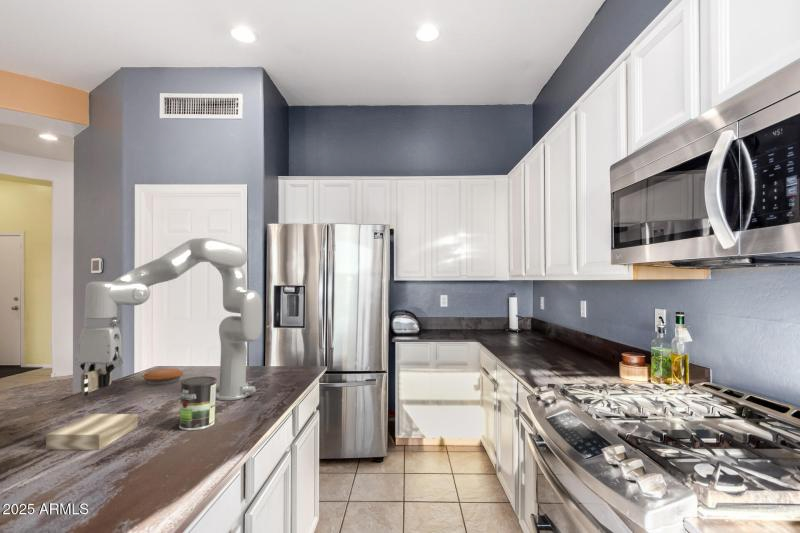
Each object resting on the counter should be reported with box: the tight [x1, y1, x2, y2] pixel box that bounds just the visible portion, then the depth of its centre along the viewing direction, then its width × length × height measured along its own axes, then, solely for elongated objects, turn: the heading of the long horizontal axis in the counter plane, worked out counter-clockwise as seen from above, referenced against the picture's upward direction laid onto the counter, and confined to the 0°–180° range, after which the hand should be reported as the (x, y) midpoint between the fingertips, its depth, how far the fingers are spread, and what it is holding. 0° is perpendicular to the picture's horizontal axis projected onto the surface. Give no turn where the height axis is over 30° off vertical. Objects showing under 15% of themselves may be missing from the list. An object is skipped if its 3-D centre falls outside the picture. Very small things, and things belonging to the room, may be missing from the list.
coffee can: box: [178, 375, 218, 431], centre depth 124 cm, size 10×10×14 cm
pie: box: [142, 368, 184, 386], centre depth 172 cm, size 15×16×5 cm
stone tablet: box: [80, 367, 113, 397], centre depth 112 cm, size 6×4×12 cm
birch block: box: [45, 413, 139, 451], centre depth 113 cm, size 14×16×4 cm
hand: (97, 386), depth 113 cm, fingers closed on stone tablet, 3 cm apart
